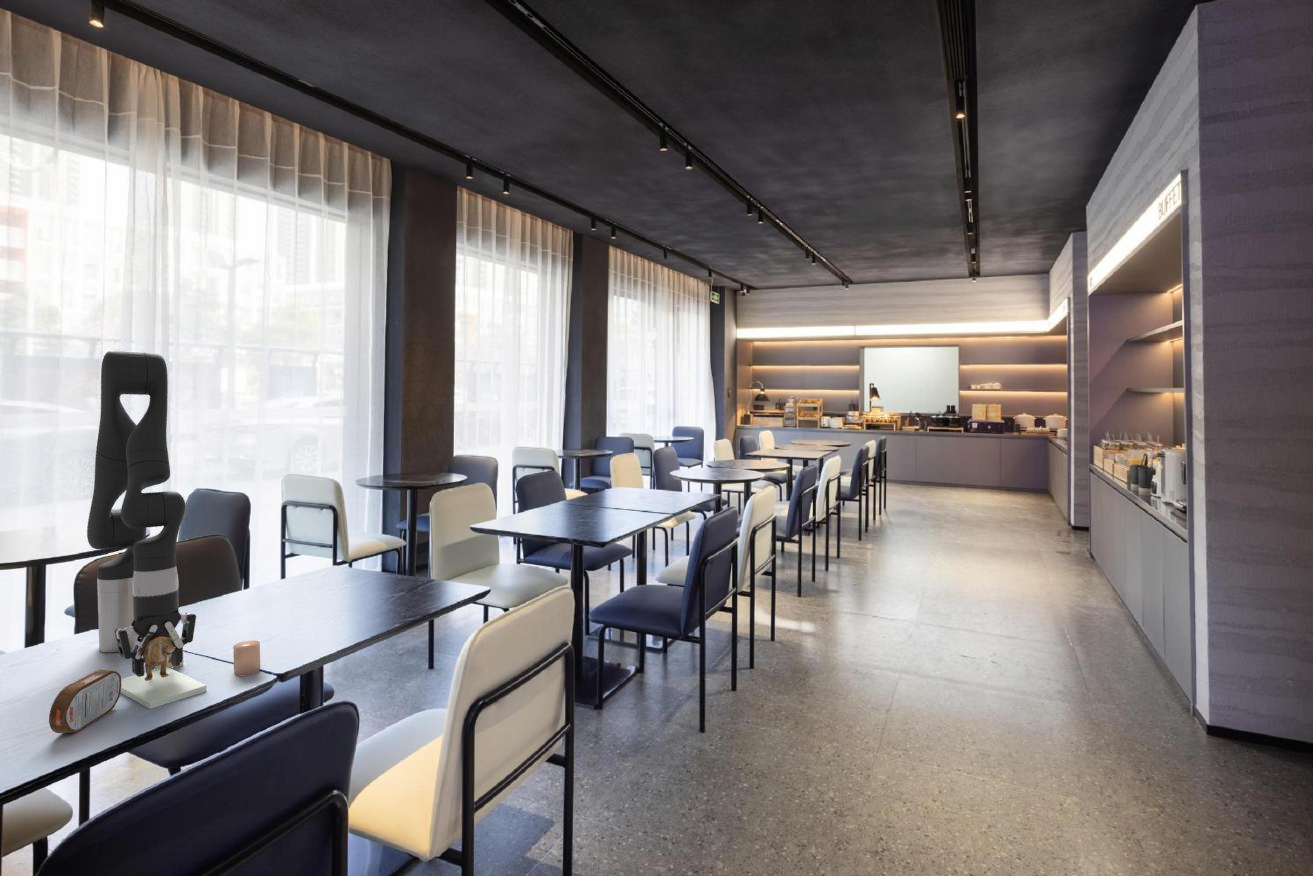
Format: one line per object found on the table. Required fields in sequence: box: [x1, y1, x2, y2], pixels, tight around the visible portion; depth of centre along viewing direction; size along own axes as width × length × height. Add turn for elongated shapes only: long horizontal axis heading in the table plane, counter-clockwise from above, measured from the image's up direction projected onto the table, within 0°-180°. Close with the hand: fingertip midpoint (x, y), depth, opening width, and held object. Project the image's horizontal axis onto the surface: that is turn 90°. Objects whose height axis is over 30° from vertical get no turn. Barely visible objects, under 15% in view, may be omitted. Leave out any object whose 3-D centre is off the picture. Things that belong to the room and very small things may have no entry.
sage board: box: [121, 667, 208, 710], centre depth 141 cm, size 18×10×1 cm, turn 57°
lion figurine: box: [142, 637, 176, 681], centre depth 143 cm, size 15×5×9 cm, turn 36°
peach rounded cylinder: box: [232, 640, 261, 676], centre depth 151 cm, size 5×5×6 cm
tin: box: [48, 668, 122, 734], centre depth 127 cm, size 15×3×8 cm, turn 5°
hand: (158, 670), depth 141 cm, fingers closed on lion figurine, 5 cm apart
